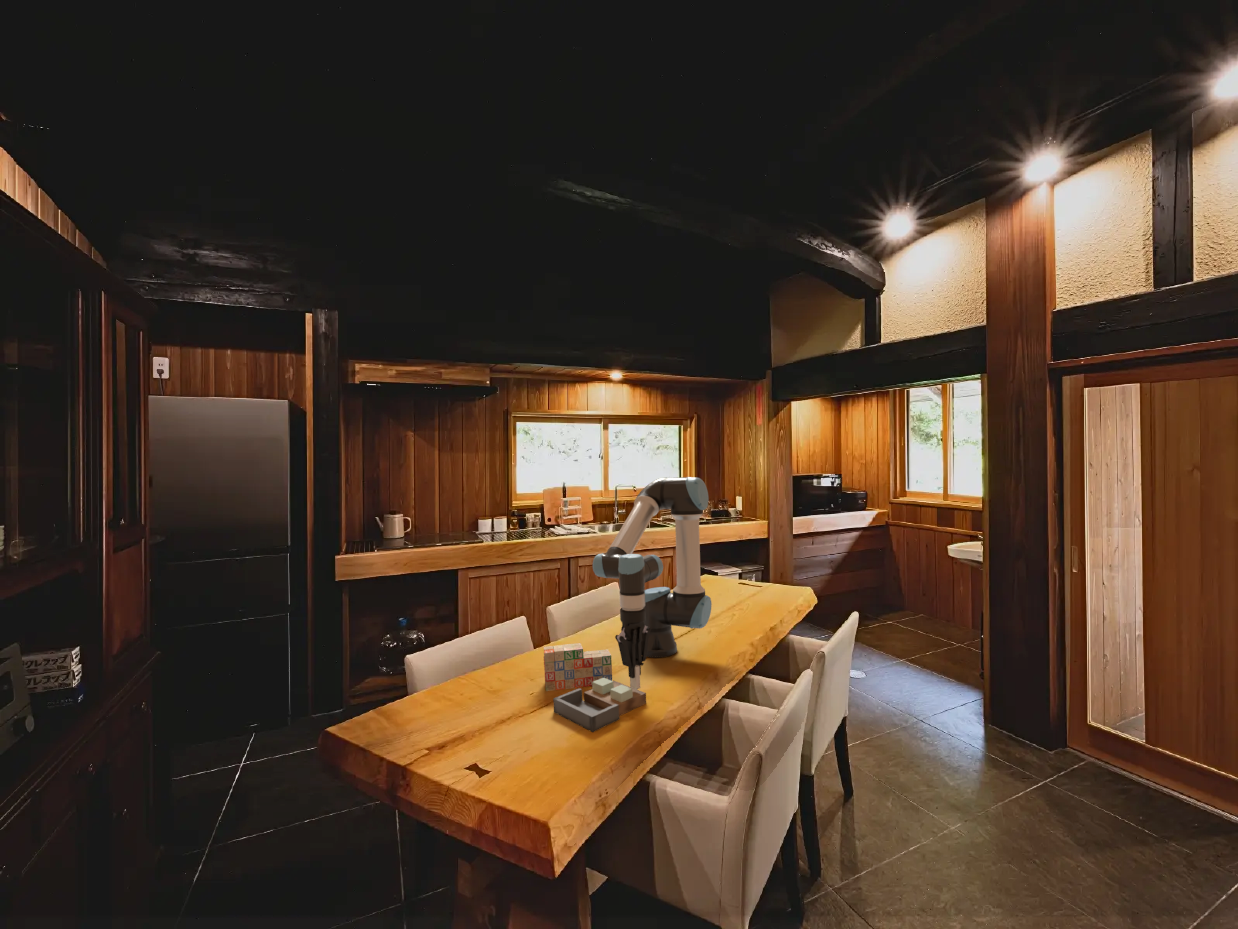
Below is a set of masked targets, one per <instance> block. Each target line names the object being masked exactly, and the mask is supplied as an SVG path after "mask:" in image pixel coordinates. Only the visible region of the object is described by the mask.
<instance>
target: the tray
mask: <svg viewBox="0 0 1238 929" xmlns="http://www.w3.org/2000/svg"><path fill="white" fill-rule="evenodd" d="M552 700H553V713H554V714H555V715H557V716H560V717H562V718H564V719H565V720H569V721H570V722H572V723H574V724H576V725H578V726H580V727H582V728H584V729H586V730H587V731H590V732H592V733H594V732H596V731H598V730H601V729H602V728H604V727H606V726H608V725H610V724H613V723H615V722H617V721H619V720H620V718H621V717H620V716H619V705H617V704H614V705H612V706H610V707H607V708H605V709H601V708H598V707H596V706H594V705H592V704H590V703H587V702H585V701H584V699H583V689H582V688H581V687H578V688H575V689H573V690H572V691H569V692H566V693H564V694H562V695H561V694H560V695H559V696H556V697H554V698H553V699H552Z"/></svg>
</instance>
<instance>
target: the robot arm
mask: <svg viewBox="0 0 1238 929" xmlns="http://www.w3.org/2000/svg"><path fill="white" fill-rule="evenodd" d="M709 499H710V498H709V492H708V488H707V485H706V484H705V482H704V481H703V479H702V478H700V477H695V476H693V477H692V476H686V477H660V478H658V479H655V480H653V481H652V482H649V483H648V484H647V485H646V486H644V488H642V489H641V491H639V493H638V494H637V495H636V497H635V499H634V501H633V507H632V509H631V511H630V513H629V515H628V516H627V518H626V519H625V521H624V523H623V524H622V526H621V527H620V530H619V531H618V533H617V534H616V535H615V538H614V540H613V541H612V543H611V544H610V546H609V547H608V549H607V551H606V552H605V553H603V552H602V553H598V554H597V555H595V556H594V558H593V561H592V571H593V573H594V575H595V576H597V577H599V578H605V579H618V584H619V607H620V609H619V619H620V622H621V628H620V631H621V632H620V633H619V634H616V635H615V636H614V638H615V640H616V642H617V643H618V649H619V652H620V653H619V654H620V657H621V658H620V659H621V661H622V662H621V663H622V665H623V666H625V667H627V668H628V670H627V672H628V678H629V687H631V688H634V689H637V690H640V689H641V675H642V666H644V664H645V663H644V662H645V661H646V660H647V657H648V658H666V657H671V656H672V655H675V654H676V653H677V652H678V646H677V642H676V641H675V635H674V633H673V631H672V626H675V627H683V628H689V629H704V627H705V626H706V625H707V624H708V622H709V620H710V617H711V614H712V605H713V604H712V599H711V597H710V596H709V595H707V594H706V589H705V588H704V587H703V585H702V583H701V582H702V580H701V579H702V578H701V552H700V551H701V546H700V545H701V542H700V540H701V539H700V518H701V517H702V516H703V514H704V511H705V510H707V508H708V506H709ZM662 510H670V515H671V517H672V518H673V519H674V524H675V525H674V528H675V553H676V554H675V558H676V559H675V560H676V562H675V563H676V564H675V567H676V586H674V587H673V589H672V590H671V588H670V587H668V586H658V587H651V588H647V589H646V587H645V584H646V583H648V582H650V581H654V580H656V579H657V578H658V577H660V576H661V575H662V573H663V570H664V564H663V561H662V559H661V557H659V556H658V555H655V554H647V555H642V554H638V553H634V551H635V549H636V547H637V545H638V543H639V542H640V539H641V538H642V536H643V535H644V533H645V531H646V529H647V528H648V525H649V523H650V522H651V520H652V519H653V517H655V516H656V515H657V514H658V513H659V512H660V511H662Z"/></svg>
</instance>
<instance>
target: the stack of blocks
mask: <svg viewBox="0 0 1238 929" xmlns="http://www.w3.org/2000/svg"><path fill="white" fill-rule="evenodd" d="M609 650H610V649H608V648H607V649H600V650H599V649H598V650H587V651H584V648H583V646H582V643H580V642H579V643H577V642H576V643H568V644H558V645H549V646H543V667H544V685H545V691H546V692H548V691H549V692H550V691H562V690H569V689H579V688H586V687H592V682H593V681H596V680H599V679H601V678H606V679H608V680H611V681H613V666H612V654H611V652H610V651H609Z"/></svg>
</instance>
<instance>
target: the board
mask: <svg viewBox="0 0 1238 929" xmlns="http://www.w3.org/2000/svg"><path fill="white" fill-rule="evenodd" d="M612 681H613V682H614V688H615V687H617V686H619V685H624V686H626V687H629V688H631V687H630V685H629V686H628V685H626V684H623V683H621V682H618V681H616V680H613V679H612ZM632 693H633V698H630V699H628V700H626V701H624V702H622V703H621V702H619V701H616V700H614V699H612V698H611V695H610V692H607V693H605V694H603V695H602V694H600V693H598V692H595V691H593V690H592V689H590V690H586V691H584V692H583V701H585V702H587V703H590V704H592V705H594V706H596V707H598V708H601V709H605V708H607V707H610V706H612V705H614V704H617V705H619V717H620V716H623V715H624V714H626V713H629V712H631V711H633V710H635V709H637V708H640V707H642V706H644V705H645V704H647V693H646V692H644V691H642V690H640V689H634V688H632Z"/></svg>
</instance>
